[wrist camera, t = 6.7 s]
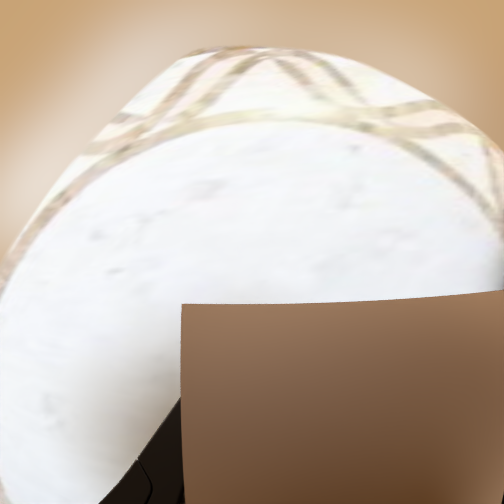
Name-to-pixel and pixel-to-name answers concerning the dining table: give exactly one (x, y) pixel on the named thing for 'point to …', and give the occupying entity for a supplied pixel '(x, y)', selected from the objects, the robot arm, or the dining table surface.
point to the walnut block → (344, 401)
